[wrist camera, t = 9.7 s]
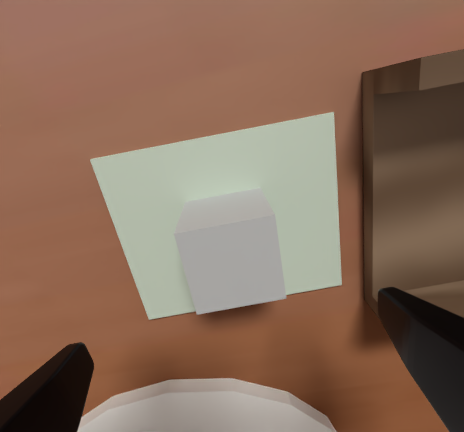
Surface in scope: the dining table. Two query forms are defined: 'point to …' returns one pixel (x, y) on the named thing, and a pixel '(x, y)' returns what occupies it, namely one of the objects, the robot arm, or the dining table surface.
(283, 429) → the dish
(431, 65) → the walnut box
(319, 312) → the dining table surface
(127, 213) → the cover plate
